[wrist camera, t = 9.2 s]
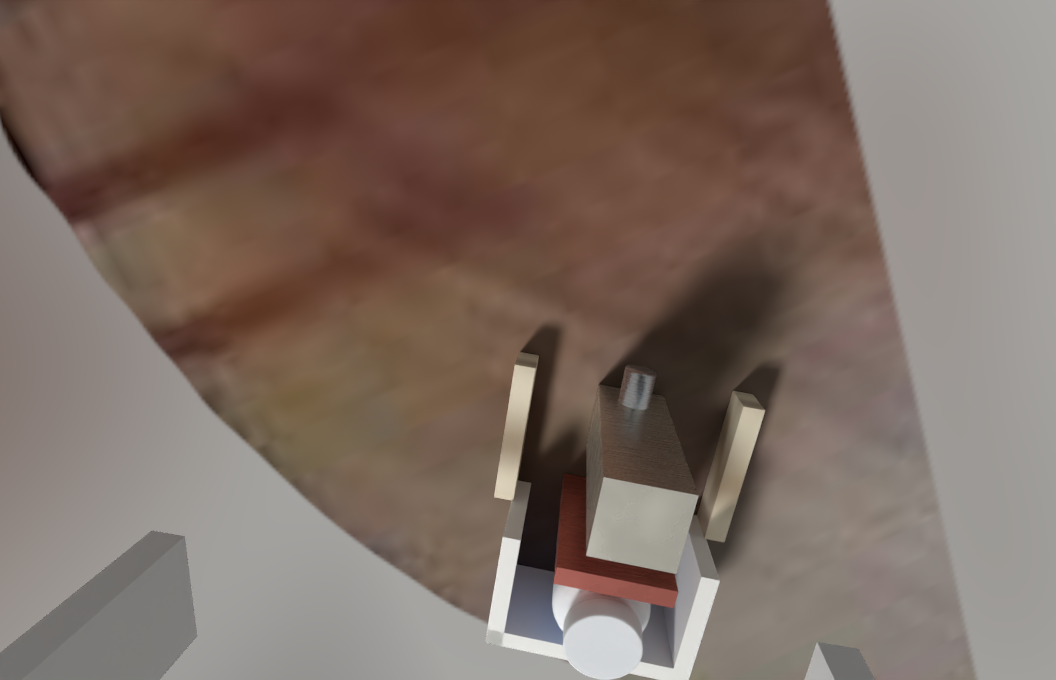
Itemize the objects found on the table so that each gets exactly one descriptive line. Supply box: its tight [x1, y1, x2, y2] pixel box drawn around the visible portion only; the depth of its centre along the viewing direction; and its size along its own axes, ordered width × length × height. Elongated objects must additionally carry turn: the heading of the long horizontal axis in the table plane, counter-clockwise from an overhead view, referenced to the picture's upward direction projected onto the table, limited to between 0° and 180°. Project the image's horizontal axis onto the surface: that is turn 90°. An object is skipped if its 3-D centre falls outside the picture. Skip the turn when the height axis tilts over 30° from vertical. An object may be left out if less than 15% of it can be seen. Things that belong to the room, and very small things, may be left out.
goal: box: [485, 480, 720, 680], centre depth 34 cm, size 8×12×6 cm, turn 81°
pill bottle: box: [552, 534, 651, 679], centre depth 32 cm, size 6×5×10 cm
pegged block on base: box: [553, 365, 699, 608], centre depth 29 cm, size 10×6×11 cm, turn 171°
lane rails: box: [494, 352, 765, 542], centre depth 33 cm, size 9×14×2 cm, turn 81°
